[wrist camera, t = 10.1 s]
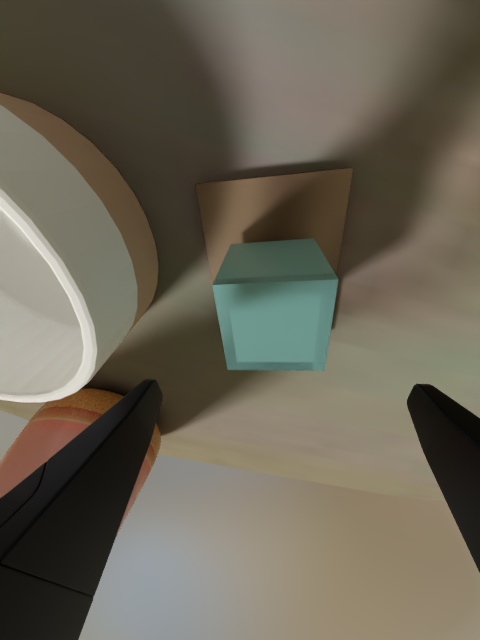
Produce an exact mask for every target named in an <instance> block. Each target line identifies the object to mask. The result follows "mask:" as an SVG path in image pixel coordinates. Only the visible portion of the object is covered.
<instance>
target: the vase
mask: <svg viewBox="0 0 480 640" xmlns="http://www.w3.org/2000/svg"><path fill="white" fill-rule="evenodd" d="M123 397H124V396H123V395H120V394H117V393H114V392H111V391H106V390H101V389H91V388H82V389H80V390H79V391H77V392H76V393H74V394H71V395H69V396H66V397H64V398H62V399H59V400H53V401H47V402H46V403H45V404H44V405H43V406H42V407H41V408H40V409H39V410H38V411H37V413H36V414H35V415H34V416H33V417H32V419H31V420H30V421H29V422H28V424H27V425H26V426H25V428H24V429H23V430H22V432H21V433H20V434H19V436H18V437H17V438H16V440H15V441H14V443H13V444H12V445H11V447H10V448H9V449H8V451H7V452H6V454H5V455H4V456H3V458H2V459H1V460H0V498H1V497H2V496H4V495H5V494H6V493H7V492H9V491H10V490H11V489H13V488H14V487H15V486H16V485H18V484H19V483H20V482H21V481H23V480H24V479H25V478H26V477H27V476H29V475H30V474H31V473H32V472H34V471H35V470H36V469H37V468H38V467H40V466H41V465H42V464H43V463H44V462H47V461H48V459H49V458H51V457H52V456H53V455H54V454H55V453H57V452H58V451H59V450H60V449H61V448H63V447H64V446H65V445H66V444H67V443H69V442H70V441H71V440H72V439H74V438H75V437H76V436H77V435H78V434H80V433H81V432H82V431H83V430H84V429H86V428H87V427H88V426H89V425H90V424H92V423H93V422H94V421H95V420H96V419H98V418H99V417H100V416H101V415H102V414H104V413H105V412H106V411H107V410H108V409H110V408H111V407H112V406H113V405H114V404H116V403H117V402H118V401H119V400H121V399H122V398H123ZM160 443H161V435H160V430H159V427H158V425H157V423H156V425H155V429H154V433H153V436H152V439H151V442H150V445H149V448H148V451H147V453H146V456H145V459H144V462H143V464H142V467H141V470H140V472H139V475H138V478H137V481H136V483H135V486H134V489H133V491H132V494H131V497H130V500H129V502H128V505H127V508H126V511H125V513H124V516H123V519H122V521H121V524H120V527H119V530H120V528H121V526H122V524H123V522H124V520H125V519H126V517H127V515H128V513H129V511H130V509H131V507H132V505H133V504H134V502H135V500H136V498H137V496H138V494H139V492H140V490H141V488H142V487H143V485H144V483H145V481H146V479H147V477H148V475H149V473H150V471H151V469H152V466H153V464H154V462H155V459H156V457H157V455H158V452H159V449H160ZM119 530H118V532H119ZM118 532H117V534H118ZM116 536H117V535H116Z"/></svg>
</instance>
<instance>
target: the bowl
mask: <svg viewBox="0 0 480 640" xmlns="http://www.w3.org/2000/svg"><path fill="white" fill-rule="evenodd" d="M158 267H159V264H158V257H157V250H156V244H155V241H154V238H153V235H152V231H151V228H150V225H149V222H148V219H147V218H146V216H145V214H144V212H143V210H142V208H141V206H140V204H139V202H138V200H137V198H136V196H135V194H134V193H133V191H132V190H131V189H130V187H129V186H128V184H127V183H126V182H125V180H124V179H123V177H122V176H121V174H120V173H119V172H118V170H117V169H116V168H115V167H114V165H113V164H112V163H111V162H110V161H109V160H108V159H107V158H106V157H105V156H104V155H103V154H102V153H101V152H100V151H99V150H98V149H97V148H96V147H95V145H94V144H93V143H92V142H90V141H89V140H88V139H86V138H85V137H84V136H83V135H81V134H80V133H79V132H78V131H76V130H75V129H74V128H72V127H71V126H70V125H69V124H67V123H66V122H65V121H64V120H62V119H60V118H58V117H57V116H55V115H53V114H51V113H49V112H48V111H46V110H44V109H42V108H40V107H39V106H37V105H35V104H33V103H31V102H28V101H24V100H21V99H18V98H15V97H12V96H9V95H6V94H3V93H0V400H8V401H15V402H47V401H53V400H59V399H62V398H64V397H66V396H69V395H71V394H74V393H76V392H77V391H79V390H80V389H81V388H82V387H83V386H85V385H86V384H87V383H88V382H89V381H90V380H91V379H92V378H93V377H94V375H95V374H96V373H97V372H98V371H99V369H100V368H101V367H102V366H103V364H104V363H105V362H106V361H107V359H108V358H109V357H110V356H111V354H112V353H113V352H114V351H115V350H116V348H117V347H118V346H119V345H120V343H121V342H122V341H123V340H124V338H125V337H126V335H127V334H128V333H129V331H130V330H131V329H132V328H133V327H134V325H135V324H136V323H137V322H138V320H139V319H140V318H141V317H142V315H143V314H144V313H145V312H146V310H147V308H148V307H149V305H150V304H151V302H152V300H153V297H154V294H155V291H156V288H157V283H158Z"/></svg>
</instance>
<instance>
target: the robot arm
mask: <svg viewBox="0 0 480 640" xmlns="http://www.w3.org/2000/svg"><path fill="white" fill-rule="evenodd" d="M161 401H162V392H161V390H160V388H159V385H158V383H157V381H156V380H152V379H146V380H144V381H142V382H141V383H140V384H139V385H137V386H136V387H135V388H134V389H133V390H131V391H130V392H129V393H128V394H127V395H125V396H124V397H123V398H122V399H121V400H119V401H118V402H117V403H116V404H114V405H113V406H112V407H111V408H110V409H108V410H107V411H106V412H105V413H104V414H102V415H101V416H100V417H99V418H98V419H96V420H95V421H94V422H93V423H92V424H90V425H89V426H88V427H87V428H86V429H84V430H83V431H82V432H81V433H80V434H78V435H77V436H76V437H75V438H74V439H72V440H71V441H70V442H69V443H67V444H66V445H65V446H64V447H63V448H61V449H60V450H59V451H58V452H57V453H55V454H54V455H53V456H52V457H51V458H49V459H48V461H47V462H44V463H43V464H42V465H41V466H40V467H38V468H37V469H36V470H35V471H34V472H32V473H31V474H30V475H29V476H27V477H26V478H25V479H24V480H23V481H21V482H20V483H19V484H18V485H16V486H15V487H14V488H13V489H11V490H10V491H9V492H7V493H6V494H5V495H4V496H2V497H1V498H0V640H78V639H79V636H80V633H81V631H82V628H83V625H84V623H85V620H86V617H87V614H88V612H89V609H90V606H91V603H92V601H93V596H94V595H95V592H96V589H97V587H98V584H99V581H100V578H101V576H102V573H103V570H104V568H105V565H106V562H107V559H108V557H109V554H110V551H111V549H112V546H113V543H114V540H115V538H116V535H117V532H118V530H119V527H120V524H121V521H122V519H123V516H124V513H125V511H126V508H127V505H128V502H129V500H130V497H131V494H132V491H133V489H134V486H135V483H136V481H137V478H138V475H139V472H140V470H141V467H142V464H143V462H144V459H145V456H146V453H147V451H148V448H149V445H150V442H151V439H152V436H153V433H154V429H155V425H156V421H157V417H158V413H159V409H160V405H161ZM407 406H408V409H409V412H410V415H411V418H412V421H413V424H414V427H415V430H416V432H417V435H418V438H419V441H420V444H421V447H422V449H423V452H424V454H425V457H426V459H427V461H428V463H429V465H430V468H431V470H432V472H433V474H434V476H435V478H436V480H437V483H438V485H439V487H440V489H441V491H442V493H443V495H444V497H445V500H446V502H447V504H448V506H449V508H450V510H451V512H452V514H453V517H454V519H455V521H456V523H457V525H458V527H459V530H460V532H461V534H462V536H463V538H464V540H465V542H466V544H467V546H468V549H469V551H470V553H471V555H472V557H473V559H474V562H475V563H476V566H477V568H478V570H479V572H480V418H479V417H477V416H476V415H474V414H473V413H471V412H470V411H469V410H467V409H466V408H464V407H463V406H461V405H460V404H458V403H457V402H456V401H454V400H453V399H451V398H450V397H448V396H447V395H445V394H444V393H443V392H441V391H440V390H438V389H437V388H435V387H434V386H432V385H430V384H416V385H414V387H413V389H412V391H411V393H410V395H409V397H408V399H407Z"/></svg>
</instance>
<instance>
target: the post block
mask: <svg viewBox="0 0 480 640" xmlns="http://www.w3.org/2000/svg"><path fill="white" fill-rule="evenodd" d="M352 173H353V168H342V169H333V170H323V171H313V172H304V173H294V174H284V175H275V176H265V177H255V178H246V179H236V180H227V181H217V182H207V183H198V184H195V187H196V193H197V199H198V204H199V210H200V216H201V221H202V227H203V233H204V239H205V244H206V250H207V256H208V261H209V267H210V273H211V279H212V284H213V282H214V280H215V278H216V276H217V273H218V271H219V269H220V267H221V265H222V262H223V260H224V258H225V256H226V254H227V251H228V249H229V247H230V245H231V244H240V243H254V242H268V241H283V240H297V239H312V238H314V239H315V241H316V242H317V244H318V246H319V247H320V249H321V251H322V252H323V254H324V256H325V257H326V259H327V261H328V262H329V264H330V266H331V268H332V269H333V271H334V273H335V274H336V276H337V272H338V265H339V259H340V252H341V245H342V239H343V232H344V226H345V219H346V212H347V206H348V199H349V193H350V186H351V180H352Z"/></svg>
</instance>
